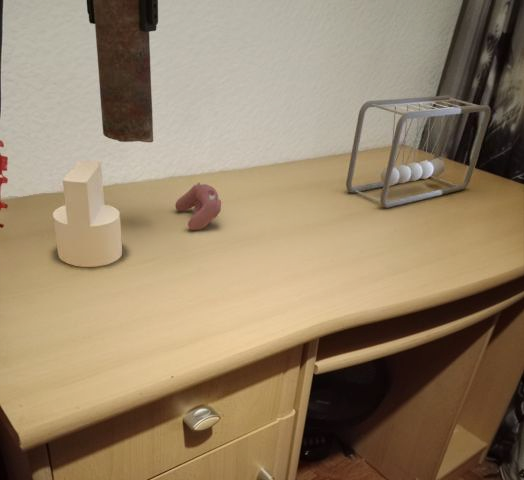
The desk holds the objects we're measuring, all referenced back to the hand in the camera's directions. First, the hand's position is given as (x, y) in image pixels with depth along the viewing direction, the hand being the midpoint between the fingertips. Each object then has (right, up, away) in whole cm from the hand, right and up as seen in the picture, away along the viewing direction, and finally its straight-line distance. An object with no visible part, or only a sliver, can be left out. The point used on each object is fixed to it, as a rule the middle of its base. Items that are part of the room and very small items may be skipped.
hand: (123, 26), depth 74 cm
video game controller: (+8, -22, +20) cm, 31 cm away
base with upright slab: (-6, -30, +6) cm, 31 cm away
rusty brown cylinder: (-1, -13, +9) cm, 15 cm away
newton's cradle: (+51, -10, +44) cm, 68 cm away
